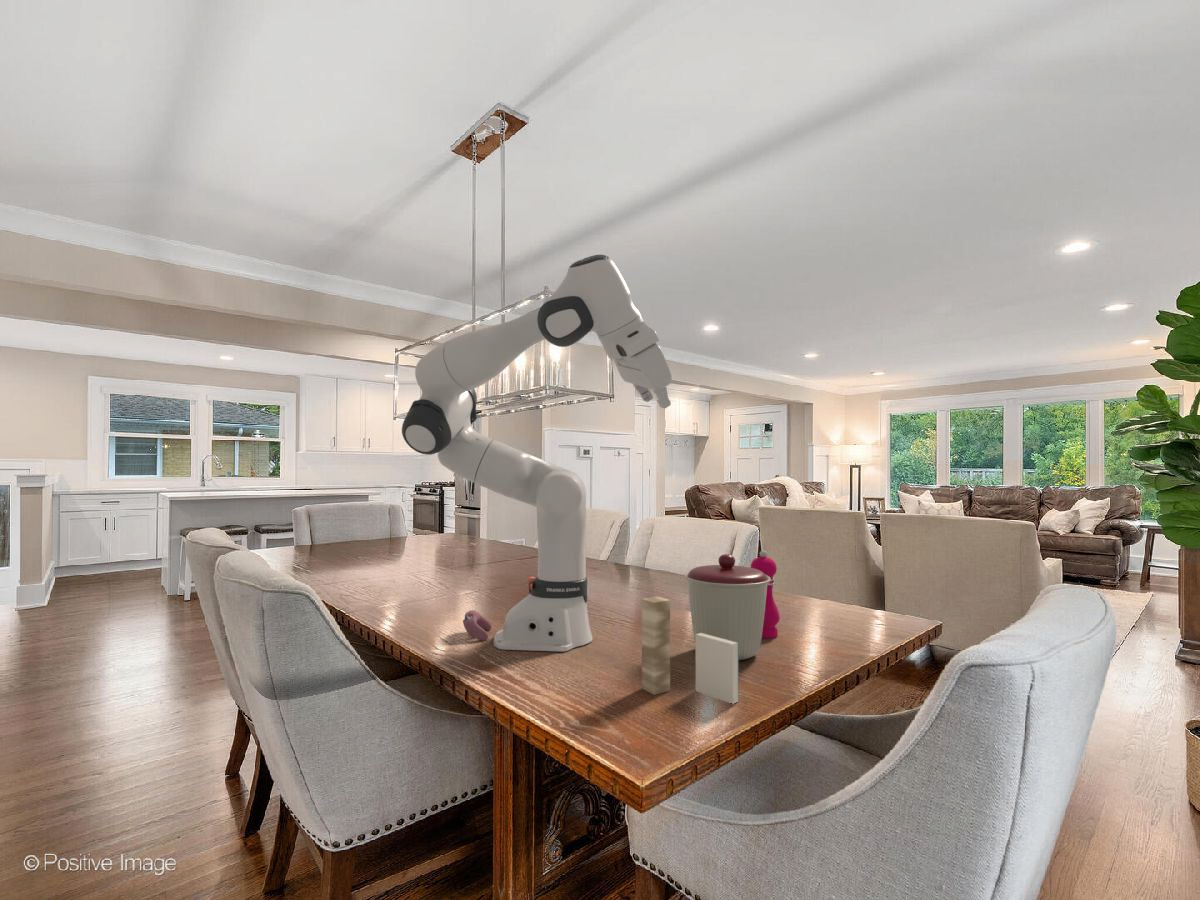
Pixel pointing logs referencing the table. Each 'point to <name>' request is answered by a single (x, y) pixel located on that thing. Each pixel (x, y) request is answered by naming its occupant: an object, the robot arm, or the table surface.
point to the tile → (717, 667)
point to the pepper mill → (768, 595)
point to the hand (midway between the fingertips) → (657, 403)
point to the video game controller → (476, 625)
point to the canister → (729, 603)
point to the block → (656, 645)
